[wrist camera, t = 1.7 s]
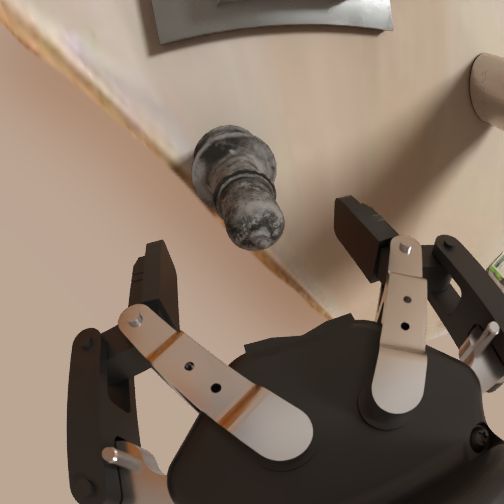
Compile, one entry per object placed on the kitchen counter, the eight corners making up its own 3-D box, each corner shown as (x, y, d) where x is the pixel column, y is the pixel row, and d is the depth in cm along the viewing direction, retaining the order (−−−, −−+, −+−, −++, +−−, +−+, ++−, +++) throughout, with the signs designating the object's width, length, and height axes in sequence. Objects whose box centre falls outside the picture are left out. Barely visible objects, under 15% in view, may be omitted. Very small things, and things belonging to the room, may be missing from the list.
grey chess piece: (249, 197, 24) (294, 301, 15) (182, 182, 22) (182, 288, 13) (275, 134, 21) (350, 206, 12) (203, 112, 19) (220, 167, 10)
